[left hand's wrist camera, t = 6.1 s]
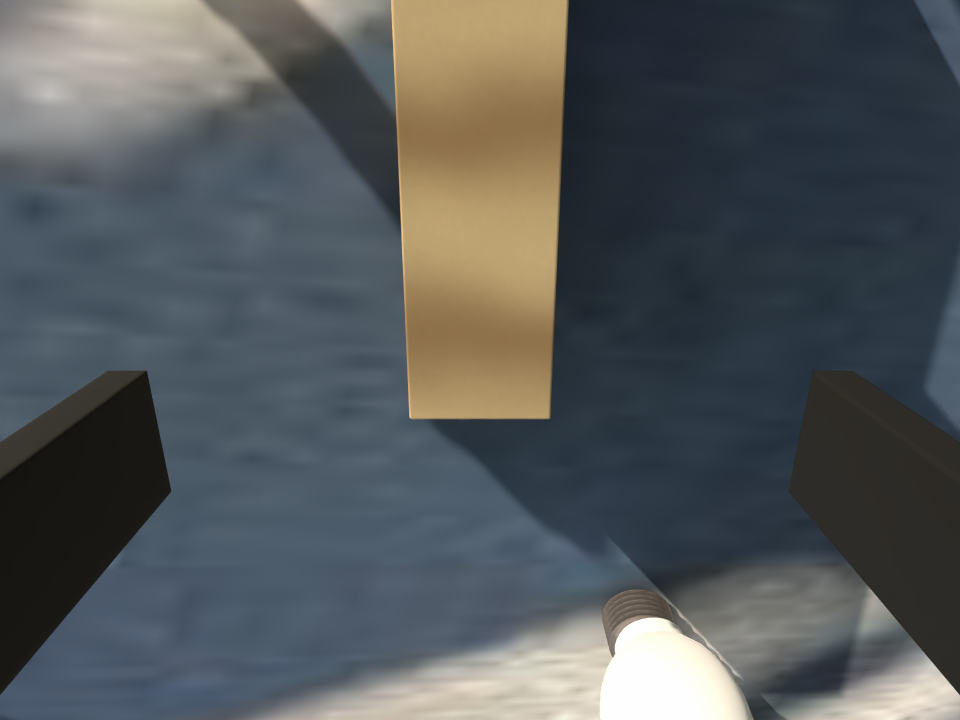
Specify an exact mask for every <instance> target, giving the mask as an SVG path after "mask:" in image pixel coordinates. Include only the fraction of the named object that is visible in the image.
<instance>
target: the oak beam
mask: <svg viewBox="0 0 960 720" xmlns="http://www.w3.org/2000/svg"><path fill="white" fill-rule="evenodd" d="M391 6H392V29H393V52H394V74H395V97H396V120H397V142H398V165H399V188H400V210H401V233H402V256H403V279H404V301H405V324H406V347H407V369H408V392H409V415H410V419H550V415H551V392H552V370H553V347H554V324H555V302H556V279H557V256H558V234H559V211H560V188H561V166H562V143H563V120H564V98H565V75H566V52H567V29H568V7H569V0H391Z"/></svg>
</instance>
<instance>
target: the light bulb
mask: <svg viewBox="0 0 960 720" xmlns="http://www.w3.org/2000/svg"><path fill="white" fill-rule="evenodd" d="M602 621H603V624H604V629H605V633H606V637H607V640H608V645H609V649H610V652H611V655H612V657H613V659H612V660H611V662H610V664H609V665H608V667H607V670H606V674H605V677H604V680H603V684H602V687H601V701H600V717H601V720H753V717H752V714H751V712H750V709H749V706H748V704H747V701H746V699H745V696H744V694H743V692H742V690H741V689H740V687H739V685H738V683H737V682H736V680H735V678H734V677H733V676H732V674H731V673H730V672H729V671H728V669H727V668H726V667H725V666H724V664H723V663H722V662H721V661H720V660H719V658H717V657H716V656H715V655H714V654H713V653H711V652H710V651H709V650H708V649H707V648H705V647H704V646H703V645H702V644H700V643H698V642H696V641H695V640H693V639H691V638H689V637H687V636H685V635H684V633H683V631H682V630H681V629H680V627H678V626H677V624H676V621H675V618H674V616H673V613H672V611H671V608H670V606H669V605H668V603H667V602H666V601H665V600H664V599H663V598H662V597H661V596H659V595H657V594H655V593H653V592H650V591H646V590H628V591H625V592H621V593H619V594H617V595H616V596H614V597H613V598H611V599H610V600H609V601H608V603H607V604H606V606H605V608H604V610H603V614H602Z"/></svg>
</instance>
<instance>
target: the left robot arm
mask: <svg viewBox="0 0 960 720" xmlns="http://www.w3.org/2000/svg"><path fill="white" fill-rule="evenodd" d="M170 492H171V488H170V483H169V478H168V473H167V468H166V463H165V458H164V453H163V448H162V443H161V438H160V434H159V429H158V424H157V419H156V414H155V409H154V404H153V399H152V394H151V389H150V384H149V379H148V374H147V371H107V372H106V373H104V374H103V375H101V376H99V377H98V378H96V379H95V380H93V381H92V382H90V383H89V384H87V385H86V386H84V387H83V388H81V389H80V390H78V391H77V392H75V393H74V394H72V395H71V396H69V397H68V398H66V399H65V400H63V401H62V402H60V403H59V404H57V405H56V406H54V407H53V408H51V409H50V410H48V411H47V412H45V413H44V414H42V415H41V416H39V417H38V418H36V419H35V420H33V421H32V422H30V423H29V424H27V425H26V426H24V427H23V428H21V429H20V430H18V431H17V432H15V433H13V434H12V435H10V436H9V437H7V438H6V439H4V440H3V441H1V442H0V695H1V693H2V692H3V691H4V690H5V689H6V687H7V686H8V685H9V684H10V683H11V681H12V680H13V679H14V678H15V677H16V675H17V674H18V673H19V672H20V671H21V670H22V668H23V667H24V666H25V665H26V664H27V662H28V661H29V660H30V659H31V658H32V656H33V655H34V654H35V653H36V652H37V651H38V649H39V648H40V647H41V646H42V645H43V643H44V642H45V641H46V640H47V639H48V637H49V636H50V635H51V634H52V633H53V631H54V630H55V629H56V628H57V627H58V626H59V624H60V623H61V622H62V621H63V620H64V618H65V617H66V616H67V615H68V614H69V612H70V611H71V610H72V609H73V608H74V607H75V605H76V604H77V603H78V602H79V601H80V599H81V598H82V597H83V596H84V595H85V593H86V592H87V591H88V590H89V589H90V587H91V586H92V585H93V584H94V583H95V582H96V580H97V579H98V578H99V577H100V576H101V574H102V573H103V572H104V571H105V570H106V568H107V567H108V566H109V565H110V564H111V563H112V561H113V560H114V559H115V558H116V557H117V555H118V554H119V553H120V552H121V551H122V549H123V548H124V547H125V546H126V545H127V543H128V542H129V541H130V540H131V539H132V538H133V536H134V535H135V534H136V533H137V532H138V530H139V529H140V528H141V527H142V526H143V524H144V523H145V522H146V521H147V520H148V519H149V517H150V516H151V515H152V514H153V513H154V511H155V510H156V509H157V508H158V507H159V505H160V504H161V503H162V502H163V501H164V499H165V498H166V497H167V496H168V495H169V494H170ZM789 492H790V494H791V495H792V496H793V497H794V498H795V499H796V501H797V502H798V503H799V504H800V505H801V507H802V508H803V509H804V510H805V511H806V513H807V514H808V515H809V516H810V517H811V519H812V520H813V521H814V522H815V523H816V524H817V526H818V527H819V528H820V529H821V530H822V532H823V533H824V534H825V535H826V536H827V538H828V539H829V540H830V541H831V542H832V543H833V545H834V546H835V547H836V548H837V549H838V551H839V552H840V553H841V554H842V555H843V557H844V558H845V559H846V560H847V561H848V563H849V564H850V565H851V566H852V567H853V568H854V570H855V571H856V572H857V573H858V574H859V576H860V577H861V578H862V579H863V580H864V582H865V583H866V584H867V585H868V586H869V587H870V589H871V590H872V591H873V592H874V593H875V595H876V596H877V597H878V598H879V599H880V601H881V602H882V603H883V604H884V605H885V607H886V608H887V609H888V610H889V611H890V612H891V614H892V615H893V616H894V617H895V618H896V620H897V621H898V622H899V623H900V624H901V626H902V627H903V628H904V629H905V630H906V631H907V633H908V634H909V635H910V636H911V637H912V639H913V640H914V641H915V642H916V643H917V645H918V646H919V647H920V648H921V649H922V651H923V652H924V653H925V654H926V655H927V656H928V658H929V659H930V660H931V661H932V662H933V664H934V665H935V666H936V667H937V668H938V670H939V671H940V672H941V673H942V674H943V675H944V677H945V678H946V679H947V680H948V681H949V683H950V684H951V685H952V686H953V687H954V689H955V690H956V691H957V692H958V693H959V695H960V442H959V441H957V440H956V439H954V438H953V437H951V436H950V435H948V434H947V433H945V432H943V431H942V430H940V429H939V428H937V427H936V426H934V425H933V424H931V423H930V422H928V421H927V420H925V419H924V418H922V417H921V416H919V415H918V414H916V413H915V412H913V411H912V410H910V409H909V408H907V407H906V406H904V405H903V404H901V403H900V402H898V401H897V400H895V399H894V398H892V397H891V396H889V395H888V394H886V393H885V392H883V391H882V390H880V389H879V388H877V387H876V386H874V385H873V384H871V383H870V382H868V381H867V380H865V379H864V378H862V377H860V376H859V375H857V374H856V373H854V372H853V371H813V374H812V379H811V384H810V389H809V394H808V399H807V404H806V409H805V414H804V419H803V424H802V429H801V434H800V438H799V443H798V448H797V453H796V458H795V463H794V468H793V473H792V478H791V483H790V488H789Z"/></svg>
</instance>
